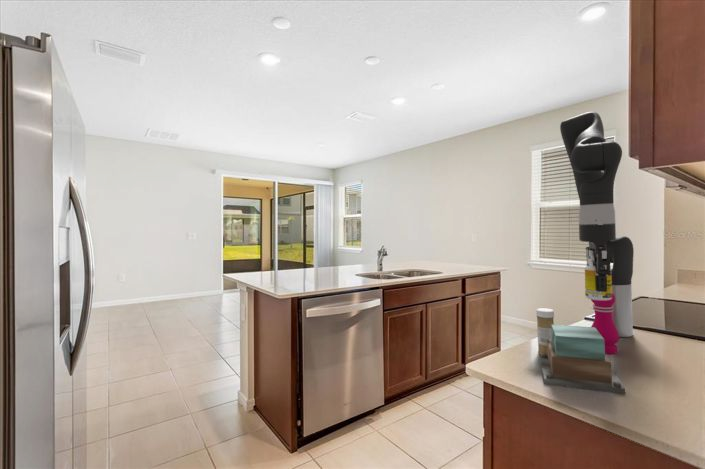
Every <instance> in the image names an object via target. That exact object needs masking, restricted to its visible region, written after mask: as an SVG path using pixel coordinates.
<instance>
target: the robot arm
mask: <svg viewBox="0 0 705 469" xmlns="http://www.w3.org/2000/svg"><path fill="white" fill-rule="evenodd" d="M559 125H560V126H559V129H560V134H561V138H562V142H563V144H564V147H565V151H566V153H567V156H568V157H567V158H568V160H569V163H570V166H571V169H572V173H573V178H574V182H575V186H576V192H577V195H578V199H579V209H578V210H579V211H578V226H579V227H578V236H579V241H580V242H582V243H583V242H584V243H585V242H586V243H588V246H586V247H585V251H586V252H585V253H586V266H589V264H588V262H589V258H591V265H592V267H594V270H595V288H596V291H599V292H606V291H607V277H606V276H608V275H610V267H611V264H612V267H611V269H612V293H613V294H614V295H615V303H614V304H613V305H612V306H613V307H614V308H613V310H614V311H613V312H612V320H613V323H614V325H615V327H616V329H617V331H618V334H619V338H630V337H633V335H634V334H633V332H634V330H633V327H634V326H633V323H634V322H633V298H632V296H633V295H632V294H633V293H632V292H633V291H632V288H633V287H632V280H633V279H632V278H633V274H634V250H635V249H634V244H633V241H632V240H631V239H630V237H628V236H625V235H616V234H617V232H616V210H615V205H614V203H615V202H614V195H615V194H614V190H615V189H614V188H615V187H614V186H615V180H616V176H617V172H618V169H619V166H620V163H621V159H622V156H623V150H622V147H621V145H620V144H619V143H617V142H616V141H607V140H606V138H605V131H604V130H605V129H604V125H603V120H602V118H601V116H600V114H599V113H598V112H596V111H588V112H583V113H581V114H578V115H576V116H573V117H570V118H568V119H565V120H562V121H561V122H560V124H559ZM600 267H603V268H604V270H601V269H600Z"/></svg>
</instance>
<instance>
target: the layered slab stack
mask: <svg viewBox="0 0 705 469" xmlns="http://www.w3.org/2000/svg"><path fill="white" fill-rule="evenodd" d="M551 328H552V341H548V356H547V355H546V354H542V355H540V354H539V363H540V368H541V372H542V378H543V382H544V384H545V385H552V386H553V385H554V386H560V387H561V386H562V387H569V388H576V389H585V390H593V391H599V392H606V393H614V394H621V395H625V394H626V388H625V386H624V385H623V383H622V382H621V381H620V379H619V377H618V375H617V373H615V371H614V370H613V368H612V361H611V360H610V358H609V357H608V355H607V354H605V341H604V338H603V337H602V336H601V334H600V333H599V332H598V331H597V329H596V328H595V327H591V326H582V325H581V326H580V325H568V324H566V325H564V324H554V325H552V324H551Z"/></svg>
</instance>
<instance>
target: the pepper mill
mask: <svg viewBox="0 0 705 469" xmlns="http://www.w3.org/2000/svg"><path fill="white" fill-rule="evenodd" d="M590 300H591V302H592V303H593V305H592V310H593V311H594V320H593V321H592V324H591V326H590V327H595V328H596V329H597V331H598V332H599V333H600V334H601V336H602V337H603V338H604V341H605V354H606V355H615V354H617V353H618V346H617V343H618V342H619V341H620V337H619V334H618V331H617V329H616V327H615V325H614V323H613V320H612V312H613V311H614V310H613V308H614V307H613V306H612V305H613V304H614V303H615V295H614V294H613V293H612V299H611V300H604V301H603V300H592V299H590Z"/></svg>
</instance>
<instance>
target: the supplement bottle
mask: <svg viewBox="0 0 705 469" xmlns="http://www.w3.org/2000/svg"><path fill="white" fill-rule="evenodd" d="M588 264H589V266H587V265H586V266H585V267H584V289H585V290H584V293H585V298H587V299H588V300H591V299H592V300H603V301H604V300H611V299H612V267H611V266H610V275H608V276H606V277H607V291H606V292H599V291H596V288H595V270H594V267H592V265H591V258H589V262H588ZM600 269H601V270H604V268H603V267H600Z"/></svg>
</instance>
